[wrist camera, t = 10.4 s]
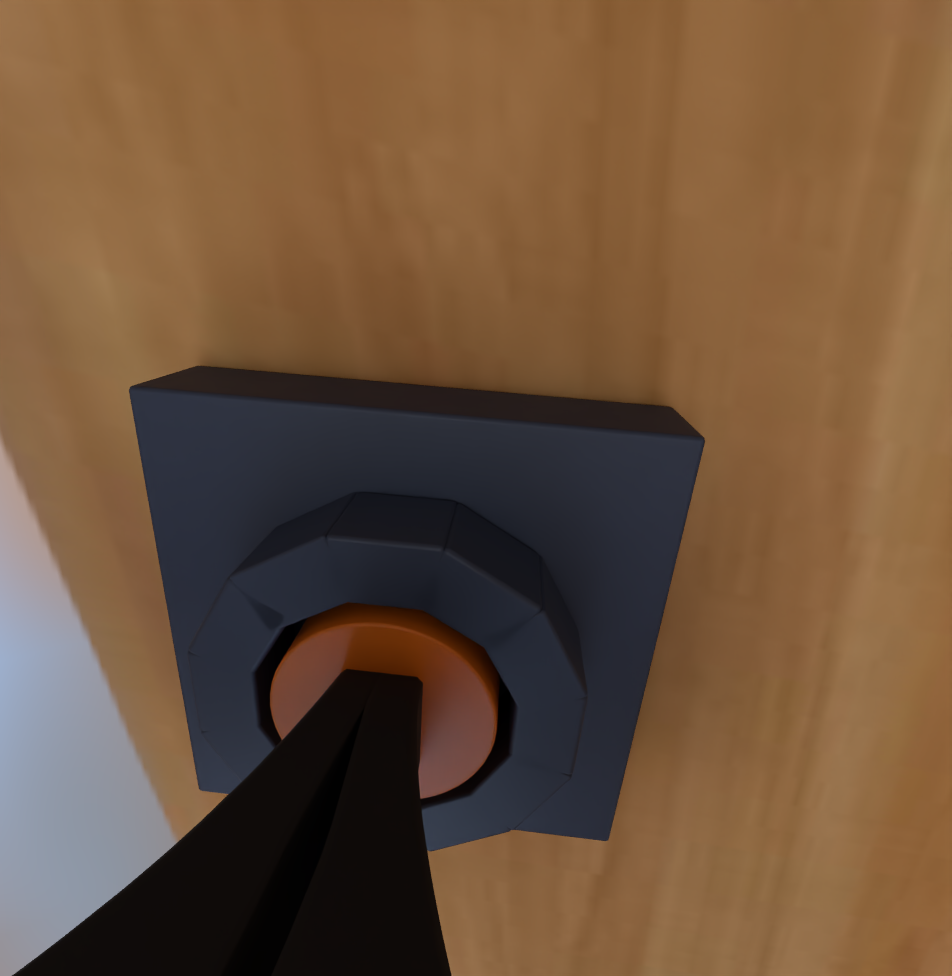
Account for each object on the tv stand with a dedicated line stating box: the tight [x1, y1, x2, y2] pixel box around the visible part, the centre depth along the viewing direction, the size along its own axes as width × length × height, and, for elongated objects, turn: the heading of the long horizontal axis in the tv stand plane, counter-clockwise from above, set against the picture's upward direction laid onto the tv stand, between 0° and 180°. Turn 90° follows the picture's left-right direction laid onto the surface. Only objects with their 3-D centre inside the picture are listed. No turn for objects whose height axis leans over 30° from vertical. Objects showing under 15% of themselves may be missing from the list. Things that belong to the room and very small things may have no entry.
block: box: [129, 366, 705, 851], centre depth 11 cm, size 10×10×4 cm
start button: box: [270, 602, 500, 799], centre depth 10 cm, size 4×4×2 cm
